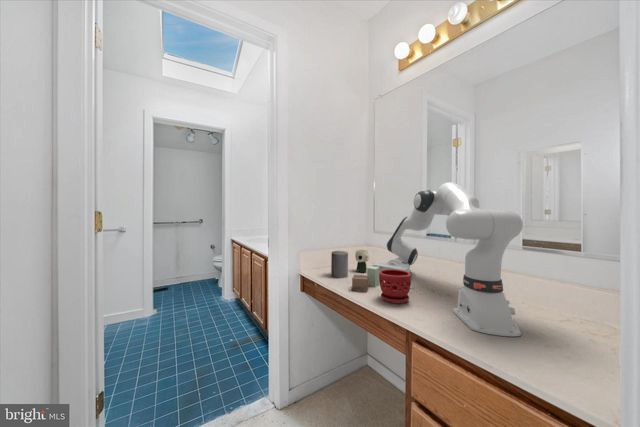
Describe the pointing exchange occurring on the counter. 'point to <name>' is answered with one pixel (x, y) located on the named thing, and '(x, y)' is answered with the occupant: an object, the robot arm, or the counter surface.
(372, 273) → the sage brick
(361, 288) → the walnut base
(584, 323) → the counter surface
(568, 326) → the counter surface
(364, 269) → the character mug
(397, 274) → the plant pot
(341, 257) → the pillar candle
